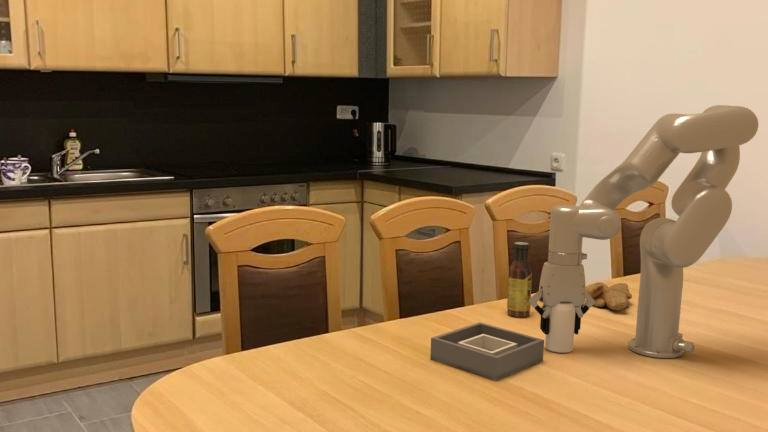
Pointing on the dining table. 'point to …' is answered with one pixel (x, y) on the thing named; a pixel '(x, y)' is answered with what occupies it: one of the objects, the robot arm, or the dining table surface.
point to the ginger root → (609, 295)
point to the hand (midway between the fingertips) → (559, 332)
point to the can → (561, 328)
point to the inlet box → (487, 350)
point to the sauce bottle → (519, 282)
